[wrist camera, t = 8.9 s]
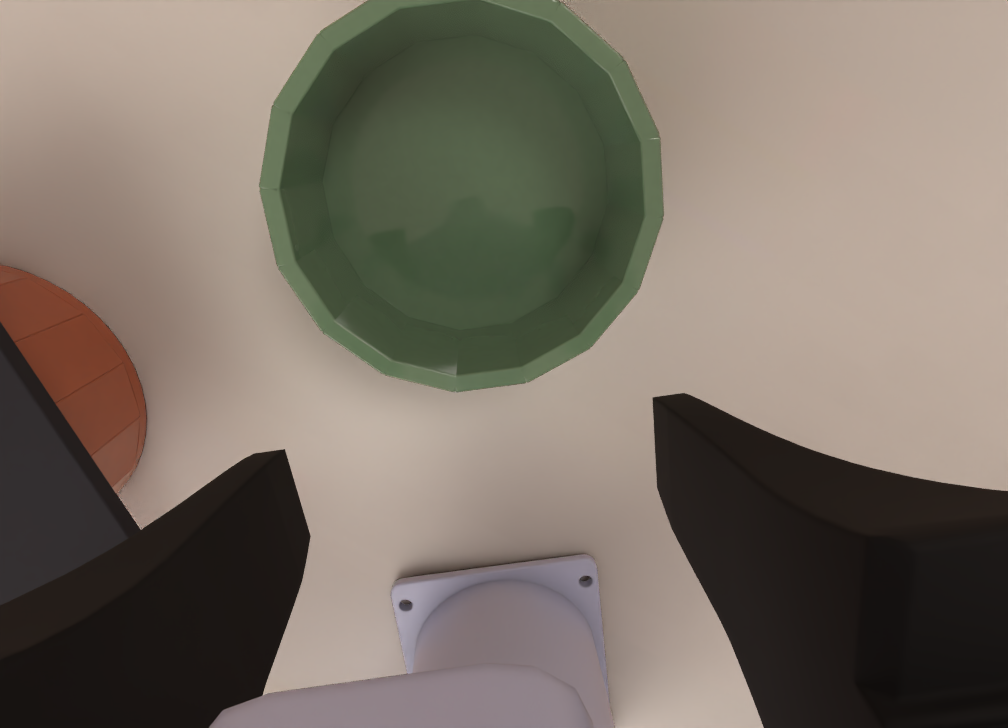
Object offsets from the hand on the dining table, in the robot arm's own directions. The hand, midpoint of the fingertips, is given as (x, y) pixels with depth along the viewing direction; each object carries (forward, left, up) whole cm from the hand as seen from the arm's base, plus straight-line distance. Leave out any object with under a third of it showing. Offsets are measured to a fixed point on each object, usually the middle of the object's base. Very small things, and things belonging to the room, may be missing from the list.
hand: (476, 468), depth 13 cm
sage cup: (+5, 0, -11) cm, 11 cm away
